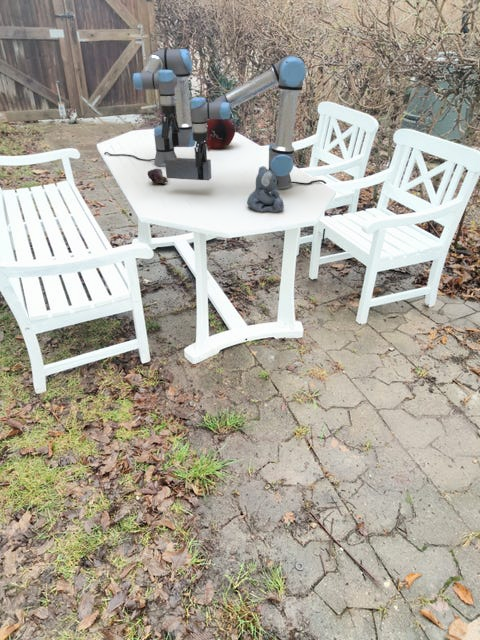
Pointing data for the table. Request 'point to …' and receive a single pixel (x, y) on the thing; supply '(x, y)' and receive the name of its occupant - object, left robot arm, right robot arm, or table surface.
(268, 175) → the koala plush
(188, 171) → the bar
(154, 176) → the rock
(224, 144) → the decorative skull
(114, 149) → the table surface
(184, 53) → the left robot arm
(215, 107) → the right robot arm
